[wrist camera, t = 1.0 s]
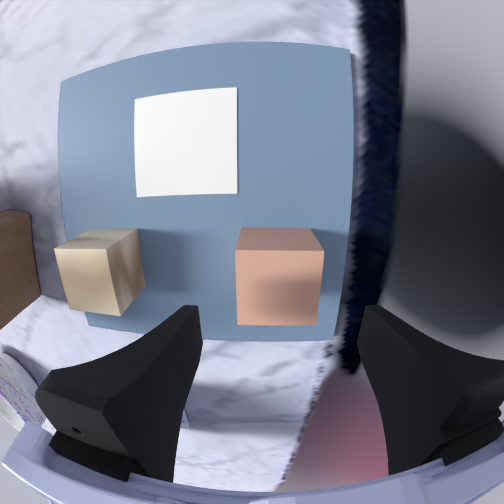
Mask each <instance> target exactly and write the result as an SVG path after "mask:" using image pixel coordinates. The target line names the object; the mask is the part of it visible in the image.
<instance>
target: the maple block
mask: <svg viewBox="0 0 504 504" xmlns="http://www.w3.org/2000/svg"><path fill="white" fill-rule="evenodd" d="M54 251H55V255H56V260H57V264H58V268H59V272H60V276H61V280H62V284H63V288H64V291H65V295H66V298H67V301H68V304H69V308H70V309H72V310H79V311H85V312H92V313H99V314H106V315H114V316H121V315H122V314H123V312H124V311H125V310H126V309H127V307H128V306H129V305H130V304H131V303H132V301H133V300H134V299H135V298H136V296H137V295H138V294H139V293H140V292H141V290H142V289H143V288H144V287H145V279H144V273H143V267H142V260H141V253H140V246H139V238H138V230H137V228H132V229H97V230H88V231H86V232H84V233H82V234H80V235H78V236H76V237H74V238H73V239H71V240H69V241H67V242H65V243H63V244H62V245H60V246H58V247H56V248H54Z"/></svg>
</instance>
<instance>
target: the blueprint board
mask: <svg viewBox="0 0 504 504" xmlns="http://www.w3.org/2000/svg"><path fill="white" fill-rule="evenodd" d="M353 155H354V112H353V86H352V70H351V57H350V49H344V48H337V47H330V46H323V45H314V44H303V43H287V42H234V43H219V44H207V45H198V46H190V47H183V48H177V49H171V50H165V51H160V52H155V53H150V54H146V55H141V56H137V57H133V58H129V59H126V60H122V61H118V62H115V63H112V64H108V65H105V66H102V67H99V68H96V69H93V70H90V71H87V72H85V73H82V74H79V75H77V76H74V77H71V78H69V79H67V80H64V81H62V82H61V87H60V97H59V112H58V167H59V182H60V194H61V203H62V211H63V219H64V225H65V232H66V237H67V241H69V240H71V239H73V238H74V237H76V236H78V235H80V234H82V233H84V232H86V231H88V230H97V229H132V228H137V230H138V238H139V246H140V253H141V260H142V267H143V273H144V279H145V287H144V288H143V289H142V290H141V292H140V293H139V294H138V295H137V296H136V298H135V299H134V300H133V301H132V303H131V304H130V305H129V306H128V307H127V309H126V310H125V311H124V312H123V314H122V315H121V316H114V315H106V314H99V313H92V312H85V311H84V312H85V315H86V318H87V321H88V324H89V326H94V327H100V328H106V329H112V330H119V331H126V332H134V333H142V334H147V333H148V332H149V331H151V330H152V329H154V328H155V327H157V326H158V325H159V324H161V323H162V322H163V321H164V320H166V319H167V318H168V317H170V316H171V315H172V314H173V313H174V312H176V311H177V310H178V309H180V308H181V307H182V306H184V305H198V307H199V316H200V325H201V333H202V339H209V340H228V341H323V340H333V337H334V332H335V327H336V321H337V316H338V310H339V304H340V298H341V292H342V285H343V278H344V271H345V263H346V255H347V246H348V236H349V226H350V214H351V200H352V183H353ZM242 227H248V228H310V229H311V231H312V232H313V234H314V235H315V237H316V238H317V240H318V242H319V243H320V245H321V246H322V248H323V250H324V261H323V271H322V280H321V289H320V298H319V306H318V313H317V321H316V325H237V299H236V265H235V249H236V245H237V242H238V239H239V235H240V232H241V228H242Z"/></svg>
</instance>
